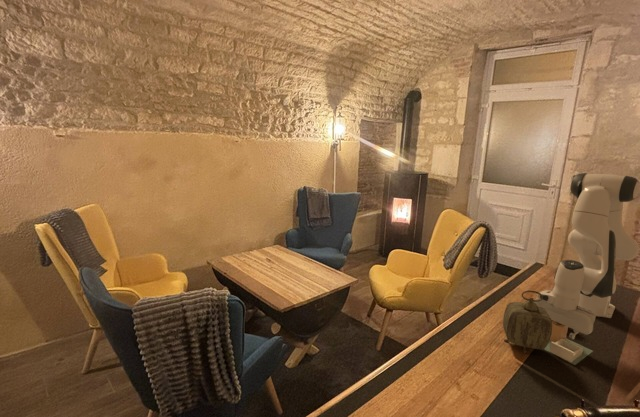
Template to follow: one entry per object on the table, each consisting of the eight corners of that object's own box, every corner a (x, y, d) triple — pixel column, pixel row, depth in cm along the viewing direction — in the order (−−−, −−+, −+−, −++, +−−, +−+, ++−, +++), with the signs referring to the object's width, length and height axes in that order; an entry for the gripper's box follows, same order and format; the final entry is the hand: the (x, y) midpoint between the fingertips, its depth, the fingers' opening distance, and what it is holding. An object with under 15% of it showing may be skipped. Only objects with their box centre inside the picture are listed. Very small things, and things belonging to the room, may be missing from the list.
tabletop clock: (540, 348, 129) (552, 289, 124) (547, 362, 121) (560, 300, 116) (499, 339, 134) (509, 283, 128) (503, 353, 126) (514, 293, 120)
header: (560, 343, 131) (562, 335, 130) (581, 354, 125) (584, 344, 124) (549, 351, 126) (551, 342, 125) (570, 362, 120) (573, 352, 119)
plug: (554, 334, 137) (558, 317, 135) (565, 339, 134) (569, 322, 132) (547, 338, 134) (551, 321, 132) (558, 343, 131) (562, 326, 129)
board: (537, 327, 144) (537, 325, 143) (592, 353, 127) (593, 350, 127) (517, 338, 135) (518, 336, 135) (574, 367, 119) (574, 365, 119)
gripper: (600, 310, 123) (592, 343, 126) (541, 288, 140) (535, 318, 143) (593, 315, 120) (585, 348, 123) (533, 292, 137) (527, 322, 140)
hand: (558, 332), depth 133 cm, fingers open, 8 cm apart
